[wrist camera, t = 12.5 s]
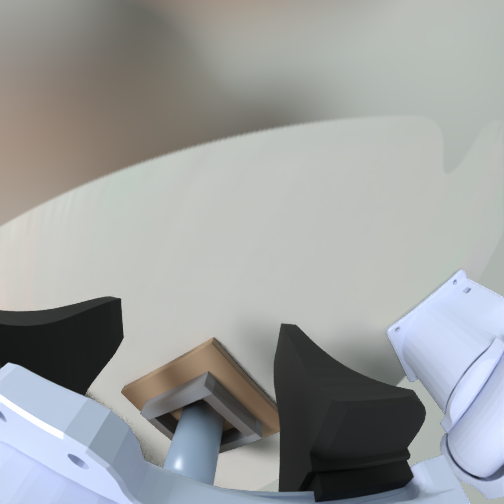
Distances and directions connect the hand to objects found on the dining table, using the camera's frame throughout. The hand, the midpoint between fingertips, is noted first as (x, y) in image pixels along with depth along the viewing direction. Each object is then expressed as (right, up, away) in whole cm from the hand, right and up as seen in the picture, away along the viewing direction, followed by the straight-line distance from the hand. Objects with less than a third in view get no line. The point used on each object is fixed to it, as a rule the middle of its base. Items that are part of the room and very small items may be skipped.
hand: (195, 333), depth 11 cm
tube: (-2, -12, +11) cm, 16 cm away
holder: (-2, -12, +12) cm, 17 cm away
